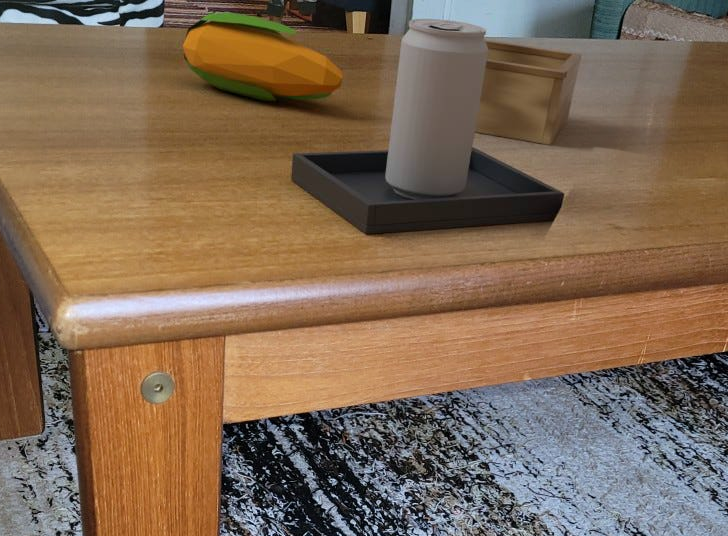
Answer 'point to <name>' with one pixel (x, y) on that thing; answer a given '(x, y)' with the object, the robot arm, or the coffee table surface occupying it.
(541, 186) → the tray
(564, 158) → the coffee table surface
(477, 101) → the beverage can
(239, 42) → the corn
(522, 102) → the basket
